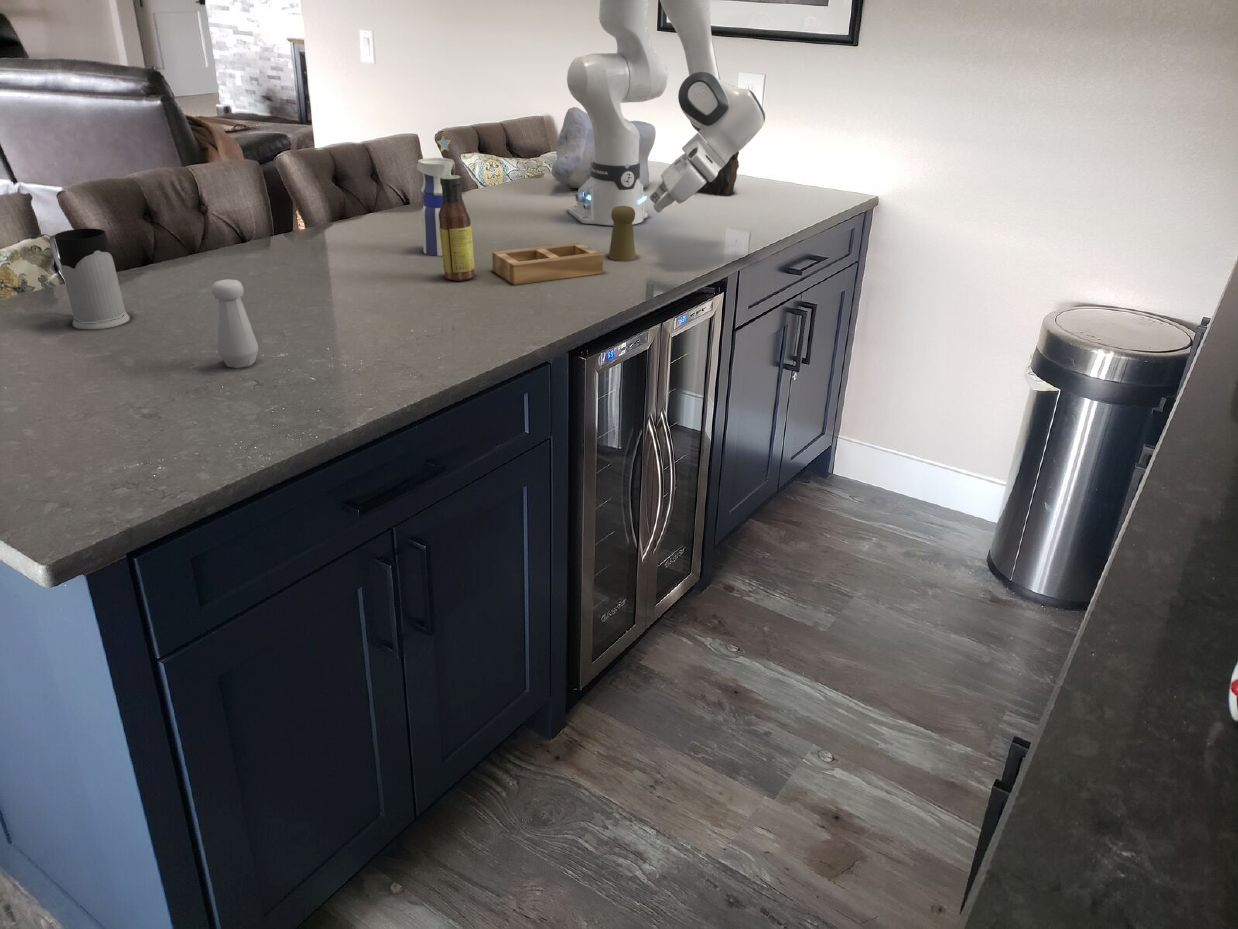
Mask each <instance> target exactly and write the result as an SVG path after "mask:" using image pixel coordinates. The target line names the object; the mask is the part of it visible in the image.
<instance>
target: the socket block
mask: <svg viewBox="0 0 1238 929" xmlns="http://www.w3.org/2000/svg"><path fill="white" fill-rule="evenodd" d="M491 253H492V254H491V255H492V256H491V258H492V272H493V273H495V274H496V275H497V276H500V277H501V278H503V279H504V280H506V281H507V282H509V283H511V284H512V285H514V286H517V285H525V284H532V283H533V284H534V283H540V282H547V281H555V280H563V279H570V278H578V277H585V276H586V277H587V276H593V275H594V276H595V275H600V274H603V273H604V266H603V265H604V254H603V253H601V252H599V251H597V250H595V249H593V248H591V247H589V246H587V245H585V244H583V243H581V242H570V243H569V242H568V243H560V244H552V245H551V244H550V245H543V246H534V247H525V248H515V249H507V250H500V251H499V250H497V251H492V252H491Z"/></svg>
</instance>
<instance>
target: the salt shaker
mask: <svg viewBox="0 0 1238 929" xmlns="http://www.w3.org/2000/svg"><path fill="white" fill-rule="evenodd" d="M211 292H212V295H213V297H214V299H216V300H218V326H217V328H218V329H217V351H218V355H219V356H220V358H221V359H222V360H223V362H224V364H225V365H226V366H227V367H229V368H234V369H240V368H241V369H242V368H246V367H251V366H252V365H253V364H254V363H256V359H257V357H258V353H259V345H258V342H257V339H256V336H255V332H254V331H253V328H252V325H251V322H250V320H249V317H248V314H247V312H246V309H245V306H244V303H243V301H242V298H241V297H243V296H244V293H245V292H244V286H243V284H242V283H241V281H239V280H237V279H232V278H231V279H230V278H227V279H221V280H217V281H215V282H214V283H213V284H212V285H211Z"/></svg>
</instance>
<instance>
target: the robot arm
mask: <svg viewBox="0 0 1238 929" xmlns="http://www.w3.org/2000/svg"><path fill="white" fill-rule="evenodd" d="M649 2H650V0H599V10H598V12H599V13H598V21H599V23H600V26H601V27H602V29H603V30H604V31H605V32H606V33H607V34H608V35H610V36H611V37H613V38H614V39H615V42H616V46H617V47H616V48H617V49H616V52H614V53H613V52H612V53H610V52H609V53H608V52H607V53H605V52H604V53H603V52H601V53H590V54H586V55H582V56H578V57H576V58H574V59H573V60H572V61H571V63H570V65H569V66H568V70H567V72H566V85H567V88H568V91H569V92H570V94H571V96H572V97H573V99H574V100H576V101H577V102H578V103H579V104H580V105H581V106H582V107H583V109H584V110H585V112H586V113H587V114H588V115H589V118H590V120H591V123H592V127H593V134H594V162H593V163H590V164H592V166H590V167H591V172H590V176H591V177H590V178H589V179H588V180H587V181H586V182H585V183H584V184H583V185H582V186H581V187H580V188H579V189H578V190H577V193H576V192H575V193H576V194H575V201H576V205H572V206H569V207H568V208H567V212H568V213H569V214H570V215H572V216H573V217H574V218H575V219H577V220H578V221H579V222H580V223H582V224H587V225H589V224H591V225H602V226H613V224H614V222H613V220H612V218H611V213H612V210H613V208H615V207H617V206H629V207H632V208H633V209H634V211H635V219H634V221H633V222H632V224H633V225H638V224H640V223H643V222H644V220H645V219H646V218H648V217H649V216H648V212H646V211H645V201H646V200H647V195H644V188H643V185H642V184H641V183H640V182H639V178H640V172H641V169H640V163H639V131H638V129H637V127H636V126H635V125H634V124H633V123H632V122H630V121H631V120H629V119H627V118H625V117H624V115H623V112H622V107H621V104H624V103H644V102H647V101H651V100H655V99H657V98H660V97H661V96H662V95H663V94H664V93H665V90H666V89H667V86H668V82H669V81H668V80H669V72H668V68H667V66H666V64H665V61H664V60H663V59H662V57H660V56H659V55H658V53H657V52H656V50H655V49H654V46H653V44H652V41H651V39H650V34H649V28H648V27H649V26H648V18H649V15H648V14H649ZM659 2H660V4H661V7H662V10H663V12H664V14H665V16H666V17H667V19H668V20H669V22H670V24H671V25H672V27H673V29H674V30H675V33H676V34H677V36H678V37H679V40H680V43H681V45H682V48H683V51H684V57H685V61H686V66H687V70H688V76H687V77H686V78H684V80H683V81H682V83H681V85H680V87H679V90H678V94H677V99H678V104H679V107H680V110H681V111H682V113H683V114H684V116H685V117H686V118H687V119H688V120H689V122H690V124H691V126H692V128H693V129H694V130H695V131H696V134H694V135H693V136H692V137H691V138H690V140H688V142H686V143H685V144H684V145H683V146H682V147H681V150H682V152H684V153H682V154H681V155H680V156H679V157H678V158H676V159H675V160H674V161H673V162H672V163H671V164H670V165H669V166H668V167H667V168H665V169H664V171H663V172H662V173H661V174H660V178H661V180H662V181H661V182H660V183H658V185H657V187H656V188H655V190H654V191H653V192H652V193H651V194H650V195H649V199H650V201H651V202H652V203H653V205H652V208H653V210H654V211H655V212H656V213H658V214H659V213H661V212H662V211H663V210H664V209H665V208H667V207H669V206H670V205H672V204H673V203H674V202H676V203H677V204H679V205H680V204H683V203H684V202H686V201H687V200H689V199H690V198H691V197H692V196H693V195H694V194H696V193H698V192H697V191H698V190H699V189H700V188H701V187H703V186H704V185H705V184H706V182H707V180H708V181H709V182H712V181H713V180H714V179H715V178H716V177H717V175H718V172H719V171H720V169H721V168H723V167H724V166H725V165H726V164H727V163H728V161H729V159H730V158H731V156H732V155H733V154H735V153H736V152H738V151H739V152H740V151H741V150H742V149H744V148H745V147H746V146H747V145H748V144H749V143H750V142H751V141H752V140H753V138H754V137H755V136H756V135H757V134H758V133H759V132H760V130H761V129H762V128H763V126H764V125H765V122H766V113H765V110H764V108H763V107H762V105H761V103H760V101H759V99H758V98H757V96H756V95H755V93H754V92H753V91H752V90H751V89H750V88H742V87H737V86H735V85H731V84H729V83H727V82H725V81H723V80H722V79H721V76H720V73H719V68H718V63H717V57H716V52H715V47H714V43H713V36H712V24H711V0H659ZM707 143H708V144H709V145H710V146H709V145H708V144H707ZM713 150H714V151H715V152H716V153H715V152H714V151H713ZM719 157H720V158H721V159H722V160H723V161H722V160H721V159H720V158H719Z"/></svg>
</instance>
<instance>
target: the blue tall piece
mask: <svg viewBox="0 0 1238 929" xmlns="http://www.w3.org/2000/svg"><path fill="white" fill-rule="evenodd" d="M436 143H437V144H438V145H439V146H440V153H441V152H443V151H448V152H449V151H450V149H449V144H450V143H451V140H449V139H446V138H445V136H444V135H442V136H441V139H440V140H438V141H436ZM455 164H456V163H455V161H454V159H452V158H448V157H447V158H445V157H426V158H421V159H418V161H417V165H416V170H417V171H418V172H419V173H421V175H422V179H423V180H422V187H421V189H420V192H421V193H422V199H423V206H422V210H421V217H422V218H421V219H422V236H423V238H422V240H423V242H422V243H423V253H424V254H426V255H428V256H437V257H439V256H440V257H442V249H441V238H440V229H439V227H440V223H439V211H440V208H441V206H442V203H443V198H442V197H443V194H442V186H441V184H440V177H442V176H446V175H452V174H451V173H452V172H453V175H456V165H455Z"/></svg>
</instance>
